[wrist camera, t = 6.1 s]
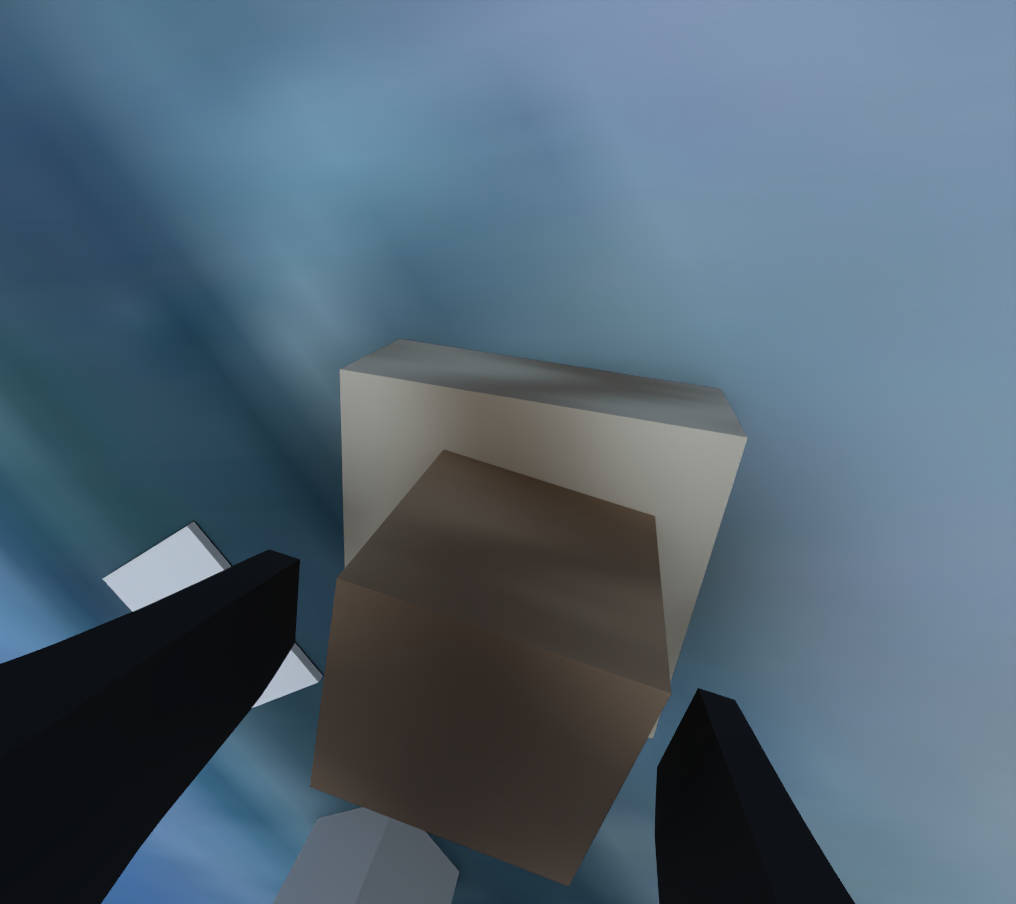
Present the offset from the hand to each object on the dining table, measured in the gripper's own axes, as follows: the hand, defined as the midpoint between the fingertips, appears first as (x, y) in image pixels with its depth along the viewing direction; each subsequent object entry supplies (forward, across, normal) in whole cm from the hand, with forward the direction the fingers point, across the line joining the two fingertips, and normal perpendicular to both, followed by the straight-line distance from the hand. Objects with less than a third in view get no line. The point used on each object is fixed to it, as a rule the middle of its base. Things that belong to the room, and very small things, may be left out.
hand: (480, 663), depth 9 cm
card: (+6, +10, +8) cm, 14 cm away
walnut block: (+3, 0, 0) cm, 3 cm away
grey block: (+6, +2, +18) cm, 19 cm away
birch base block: (+6, 0, 0) cm, 6 cm away
